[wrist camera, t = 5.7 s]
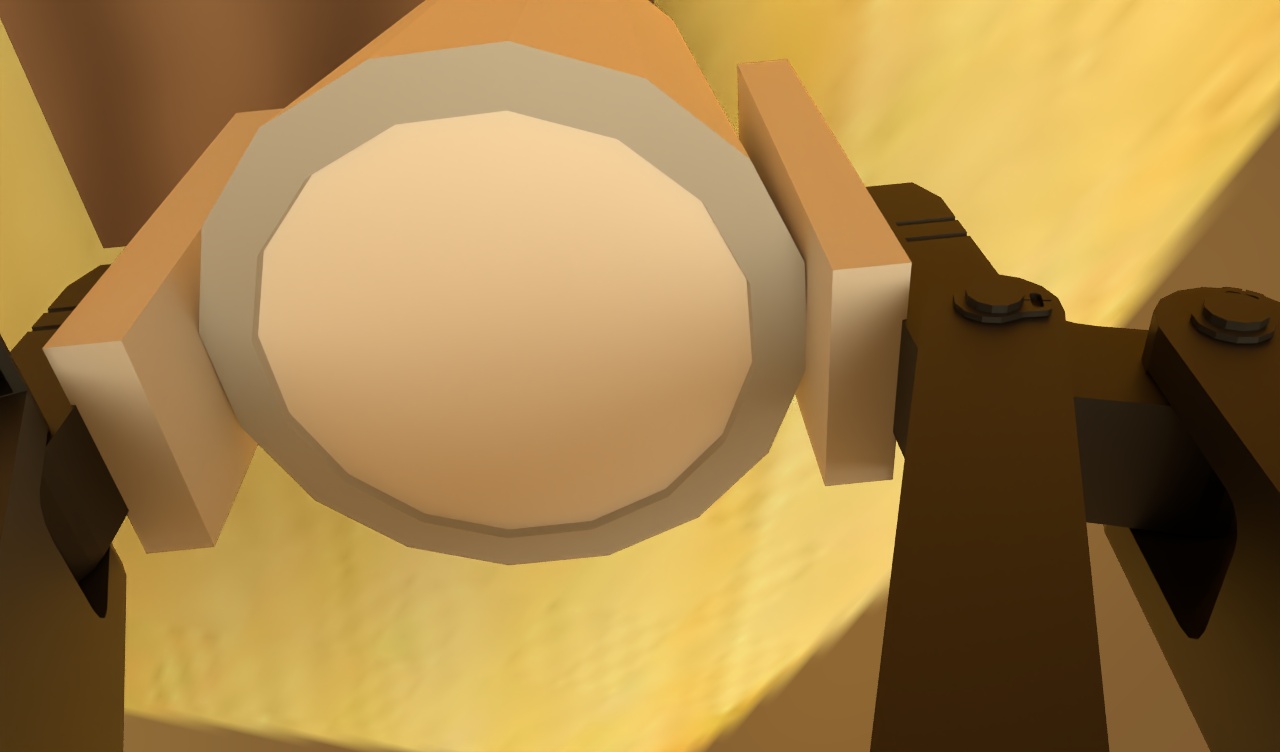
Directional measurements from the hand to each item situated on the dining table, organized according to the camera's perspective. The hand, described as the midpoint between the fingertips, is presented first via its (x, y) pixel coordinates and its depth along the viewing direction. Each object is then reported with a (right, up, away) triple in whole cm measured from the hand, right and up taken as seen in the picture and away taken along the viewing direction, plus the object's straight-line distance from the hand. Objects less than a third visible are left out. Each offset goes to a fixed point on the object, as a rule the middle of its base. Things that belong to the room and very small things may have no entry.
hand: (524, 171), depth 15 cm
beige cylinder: (0, +1, +2) cm, 2 cm away
